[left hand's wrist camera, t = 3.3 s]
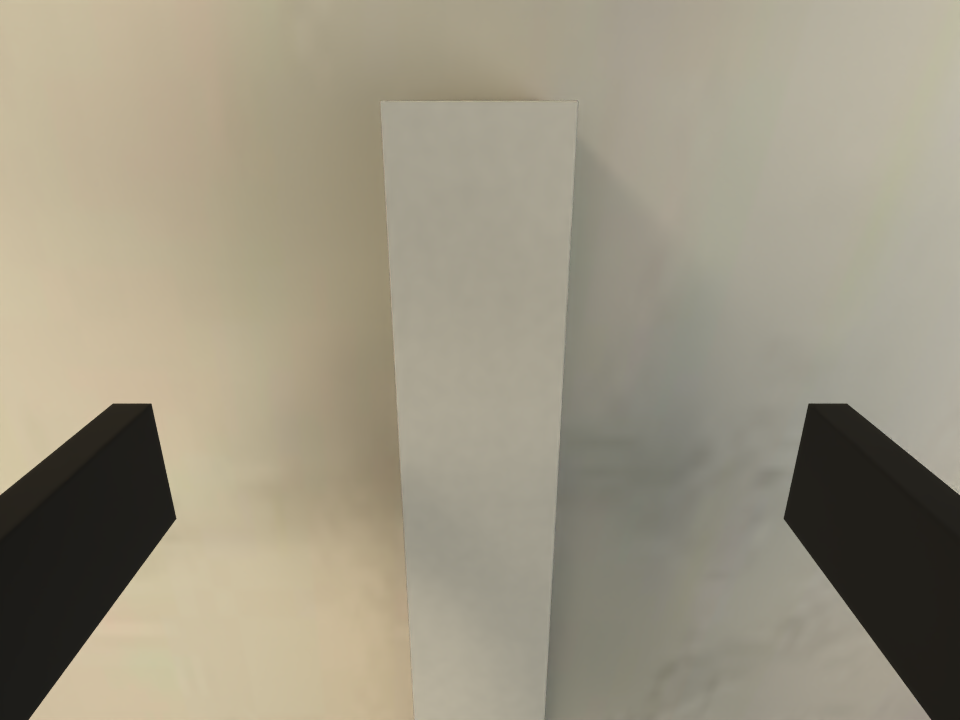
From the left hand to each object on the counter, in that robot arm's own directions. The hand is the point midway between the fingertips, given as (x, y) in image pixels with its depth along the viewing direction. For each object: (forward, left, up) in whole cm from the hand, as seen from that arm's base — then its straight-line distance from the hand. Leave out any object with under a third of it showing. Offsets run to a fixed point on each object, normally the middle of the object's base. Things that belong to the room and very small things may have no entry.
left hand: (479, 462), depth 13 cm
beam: (+20, -15, -13) cm, 28 cm away
